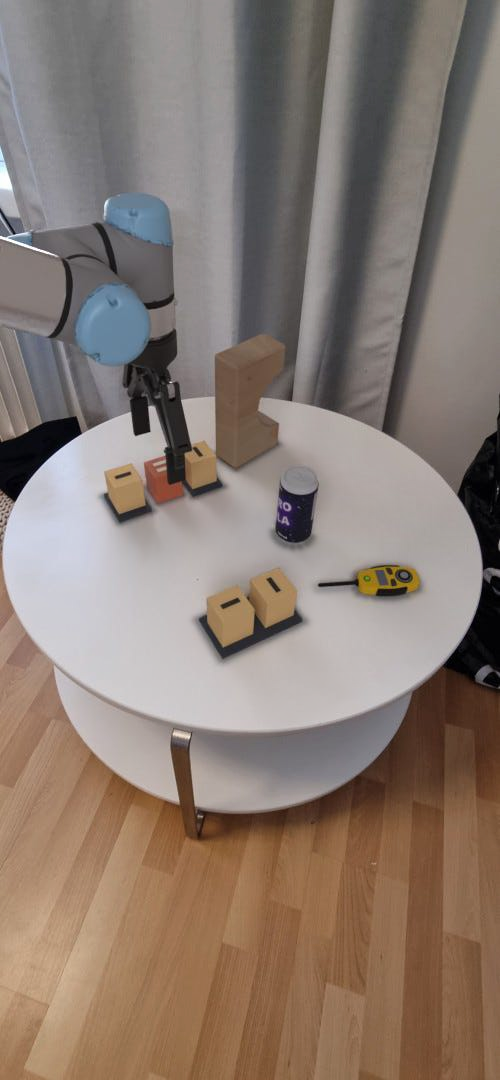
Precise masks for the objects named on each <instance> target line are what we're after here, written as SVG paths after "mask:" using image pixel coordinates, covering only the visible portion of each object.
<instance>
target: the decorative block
mask: <svg viewBox="0 0 500 1080" xmlns="http://www.w3.org/2000/svg"><path fill="white" fill-rule="evenodd" d="M285 355H286V345H285V344H284V343H282V342H281V341H279V340H277V339H275V338H273V337H271V336H269V335H267V334H266V333H263V332H262V333H260V334H258V335H256V336H253V337H252V338H249V339H247V340H244V341H242V342H240V343H238V344H236V345H233V346H231V347H229V348H227V349H224V350H222V351H220V352H218V353H215V355H214V411H215V412H214V415H215V416H214V417H215V418H214V419H215V420H214V421H215V455H216V457H219V458H220V459H222V460H223V461H224V462H225V463H227V464H228V465H230V466H231V467H233V468H234V469H237V468H238V467H240V466H242V465H244V464H245V463H247V462H249V461H251V460H253V459H254V458H256V457H257V456H259V455H261V454H262V453H264V452H266V451H267V450H269V449H271V448H273V447H274V446H276V445H278V441H279V429H280V428H279V427H280V423H279V422H278V421H276V420H274V419H273V418H271V417H270V416H268V415H267V414H265V413H263V412H262V411H260V410H259V408H260V407H259V406H260V401H261V399H262V397H263V395H264V393H265V391H266V389H267V388H268V386H269V385H270V384H271V382H272V381H273V380H274V379H275V377H277V376H278V375H279V374H280V373H282V372H283V371H284V367H285Z"/></svg>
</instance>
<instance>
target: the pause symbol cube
mask: <svg viewBox="0 0 500 1080" xmlns="http://www.w3.org/2000/svg"><path fill="white" fill-rule="evenodd" d="M143 467H144V474H145V483H146V488H147V490H148V491H149V493H150V494H151V496H152V498H153V499H154V501H155V502H156V504H162V503H164V502H167V501H170V500H173V499H176V498H179V497H181V496H183V495H184V492H183V483H182V481H181V482H177V483H174V484H171V485H169V484H168V482H167V469H166V456H165V455H162V456H159V457H157V458H153V459H149V460H147V461H143Z"/></svg>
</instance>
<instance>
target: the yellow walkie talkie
mask: <svg viewBox="0 0 500 1080" xmlns="http://www.w3.org/2000/svg"><path fill="white" fill-rule="evenodd" d="M420 583H421V581H420V576H419V574H418V573H417V570H416V569H414V568H412V567H409V566H400V565H397V564H395V565H394V564H385V565H376V566H372V567H369V568H366V569H364V570H360V571H358V573H357V575H356V578H355V579H354V580H347V581H332V582H331V581H330V582H319V583H318V584H317V587H318V588H329V587H342V586H345V587H346V586H355V587H357V589H358V591H359V592H360V593H362V594H364V595H370V596H371V595H372V596H375V597H398V596H402V595H406V594H407V593H411V592H414V591H416V590H417V589H418V588H419V586H420Z"/></svg>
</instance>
